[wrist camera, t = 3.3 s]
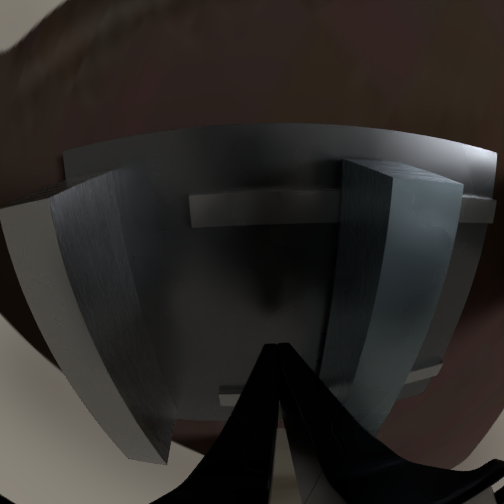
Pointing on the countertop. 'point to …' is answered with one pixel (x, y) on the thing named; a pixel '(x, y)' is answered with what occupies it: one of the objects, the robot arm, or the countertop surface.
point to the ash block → (284, 473)
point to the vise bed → (212, 262)
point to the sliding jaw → (385, 280)
